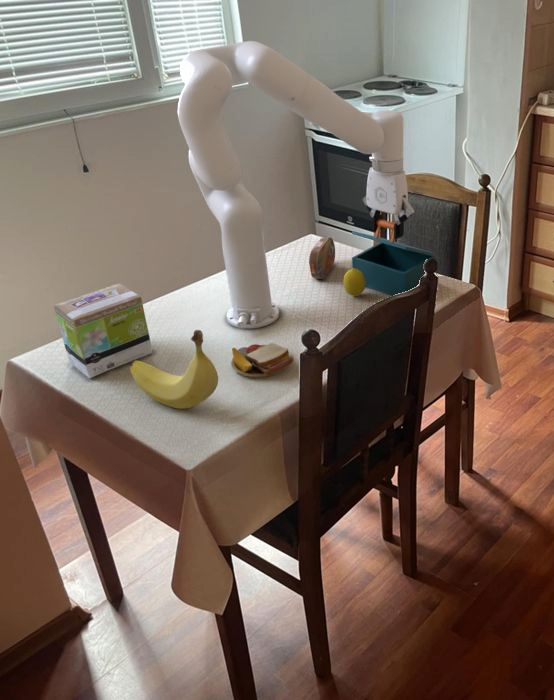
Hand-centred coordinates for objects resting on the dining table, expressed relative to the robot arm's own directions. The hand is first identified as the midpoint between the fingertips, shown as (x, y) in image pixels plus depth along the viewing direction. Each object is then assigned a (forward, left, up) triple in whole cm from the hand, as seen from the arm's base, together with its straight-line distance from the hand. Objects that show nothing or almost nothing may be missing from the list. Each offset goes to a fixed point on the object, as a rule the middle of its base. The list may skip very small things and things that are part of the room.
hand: (388, 233), depth 184 cm
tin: (+9, +18, -15) cm, 25 cm away
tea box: (-32, +63, -15) cm, 72 cm away
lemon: (-6, +9, -15) cm, 18 cm away
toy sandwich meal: (-37, +29, -15) cm, 49 cm away
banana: (-51, +44, -15) cm, 69 cm away
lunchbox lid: (+1, -1, -4) cm, 4 cm away
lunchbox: (+1, -1, -14) cm, 15 cm away
